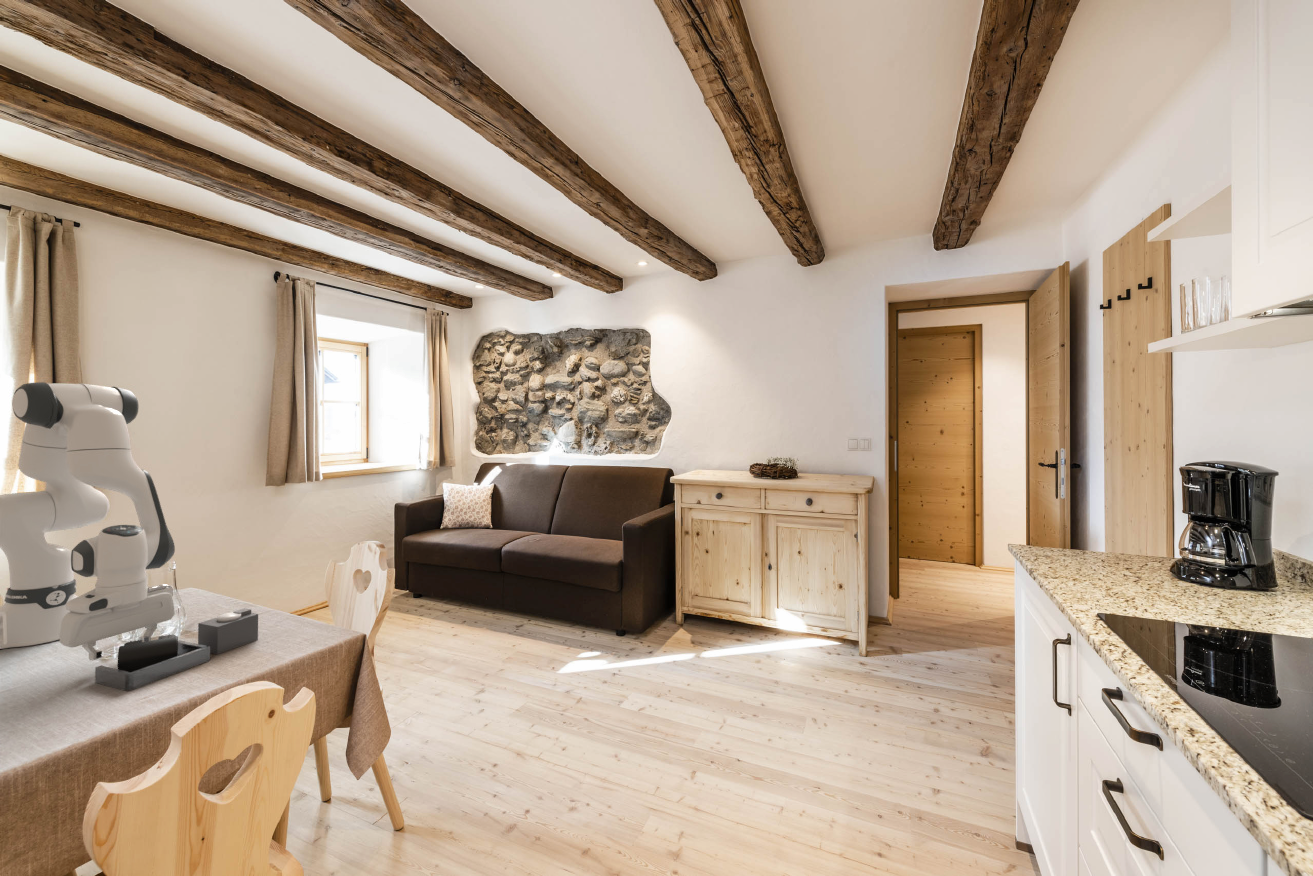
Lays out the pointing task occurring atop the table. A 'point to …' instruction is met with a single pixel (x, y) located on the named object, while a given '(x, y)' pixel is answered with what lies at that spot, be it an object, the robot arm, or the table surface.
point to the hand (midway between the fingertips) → (121, 651)
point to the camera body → (228, 631)
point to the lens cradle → (154, 668)
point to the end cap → (146, 652)
